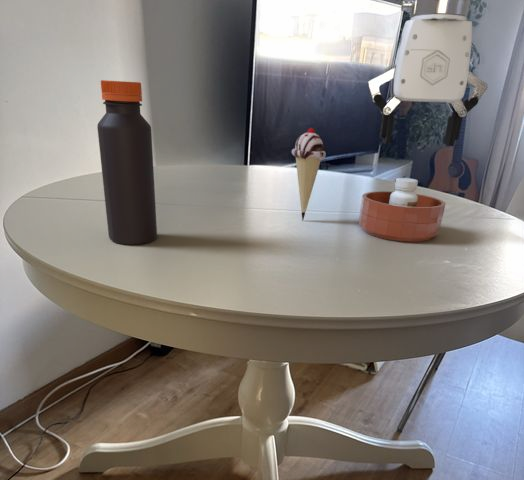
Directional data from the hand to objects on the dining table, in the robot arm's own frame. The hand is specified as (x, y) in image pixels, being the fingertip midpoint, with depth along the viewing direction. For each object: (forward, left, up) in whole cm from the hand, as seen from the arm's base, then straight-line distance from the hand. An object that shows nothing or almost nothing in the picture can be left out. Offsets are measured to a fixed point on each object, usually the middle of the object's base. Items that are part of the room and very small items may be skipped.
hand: (417, 144), depth 74 cm
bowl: (+1, 0, -14) cm, 14 cm away
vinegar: (+42, +14, -14) cm, 46 cm away
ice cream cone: (+17, -4, -14) cm, 22 cm away
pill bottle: (+1, 0, -13) cm, 13 cm away
